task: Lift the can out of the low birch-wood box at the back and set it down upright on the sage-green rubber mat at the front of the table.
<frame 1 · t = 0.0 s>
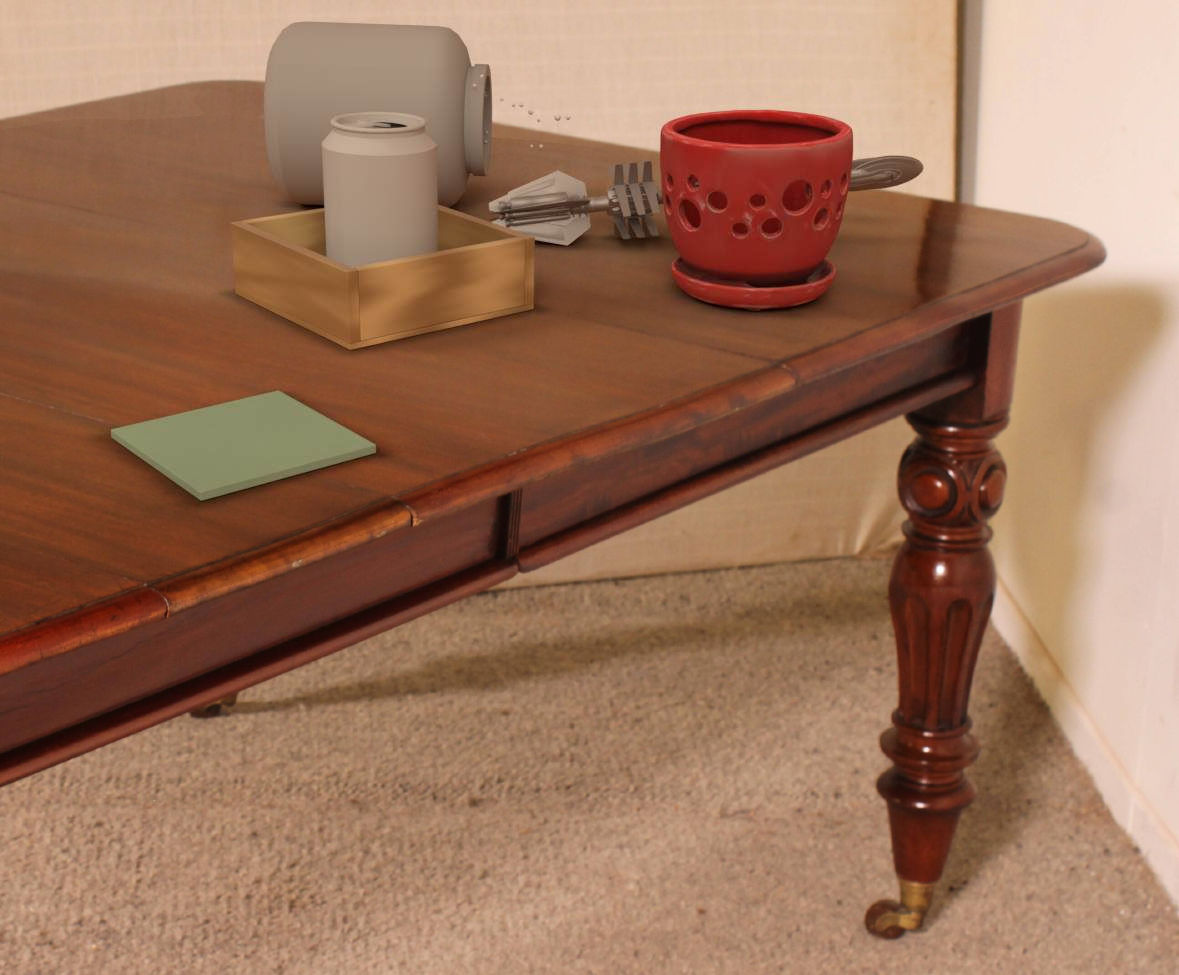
wooden box: (383, 301, 102), on the table
flower pot: (745, 295, 106), on the table
spaceship: (706, 243, 119), on the table
can: (383, 298, 102), resting on wooden box
jar: (427, 204, 128), on the table
mat: (243, 445, 78), on the table
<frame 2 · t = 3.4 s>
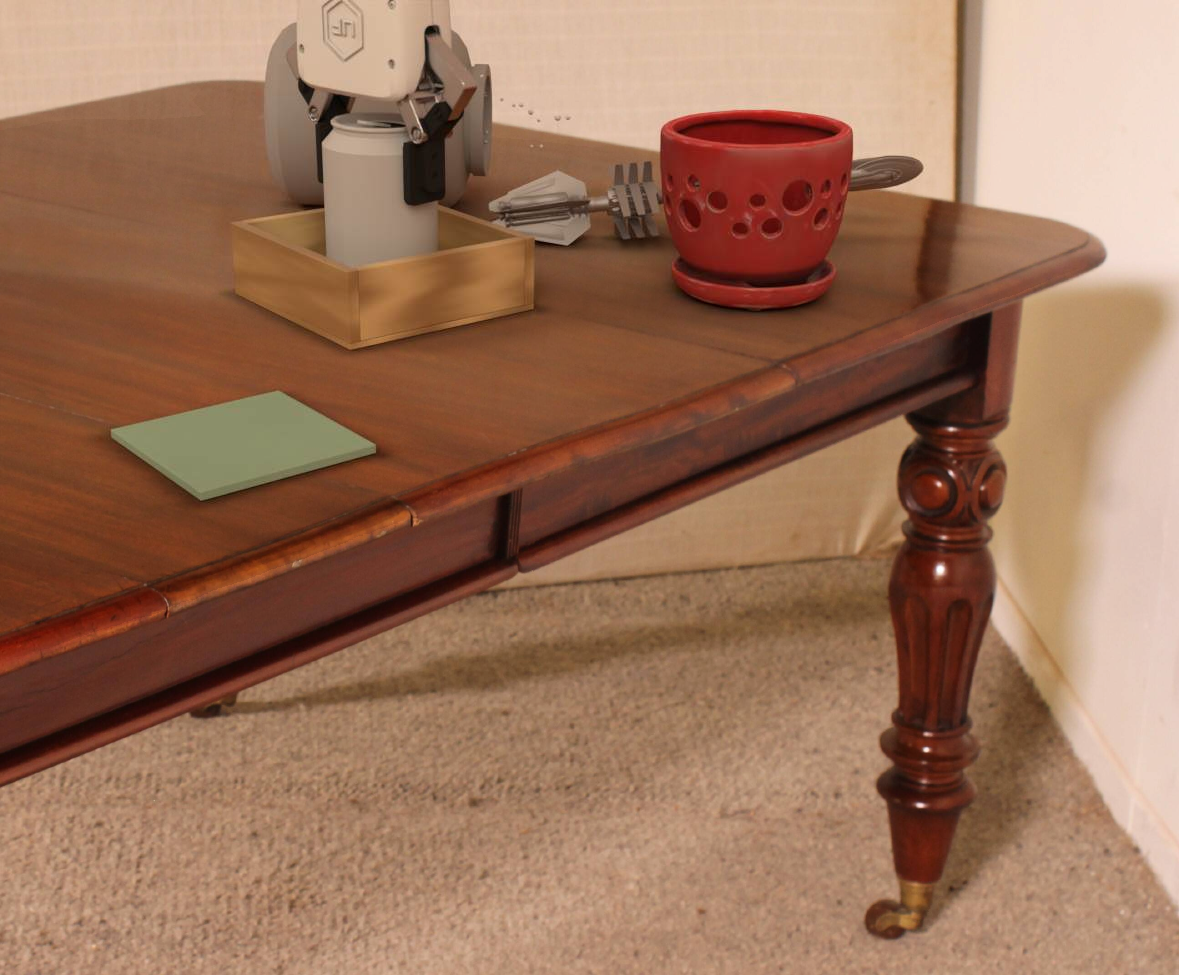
hand: (380, 189, 99), 8 cm above the table, tool pointing down, fingers closed on can, 7 cm apart
can: (383, 298, 102), resting on wooden box, touching gripper
everything else where it was.
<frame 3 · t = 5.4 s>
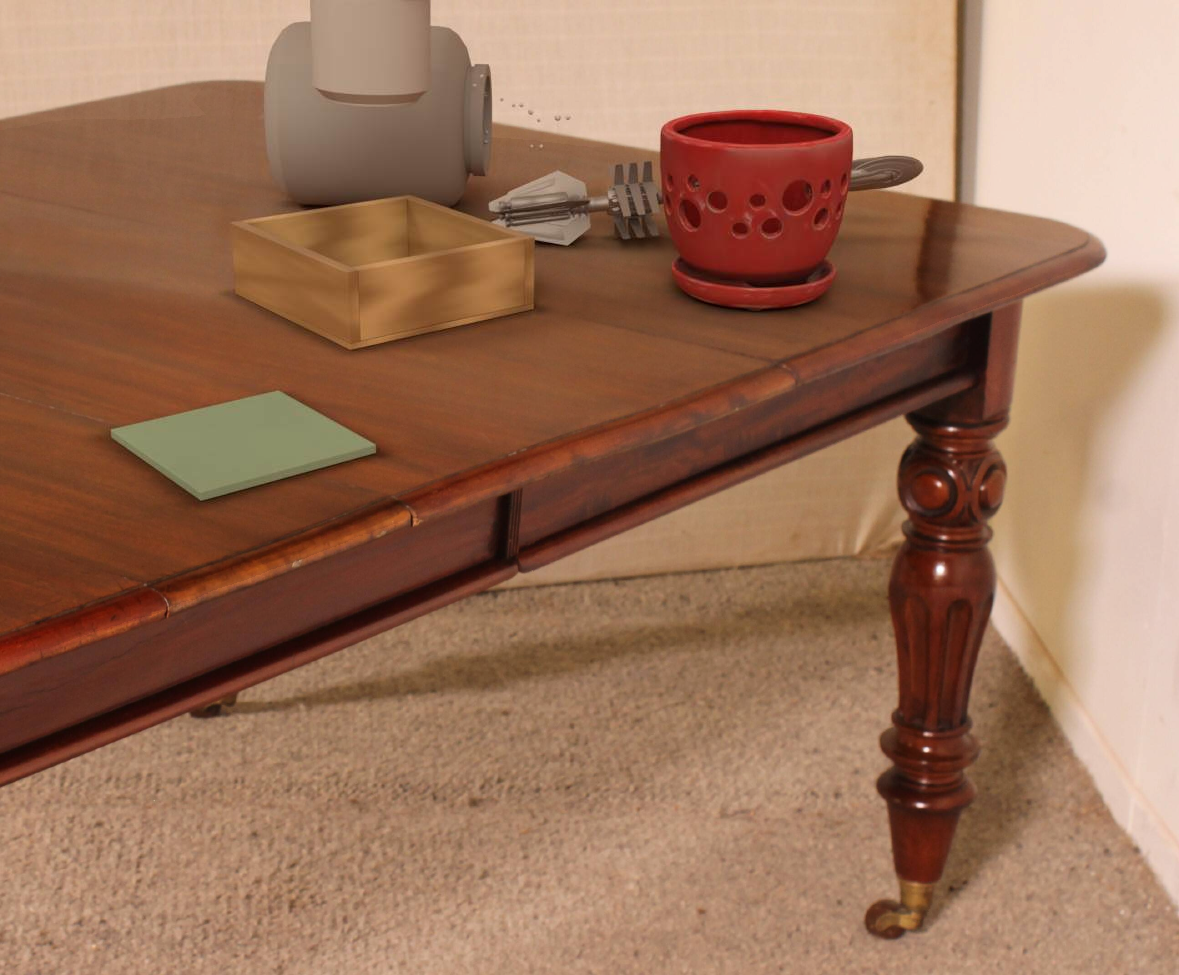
can: (371, 103, 96), point 13 cm above the table, touching gripper
everything else where it was.
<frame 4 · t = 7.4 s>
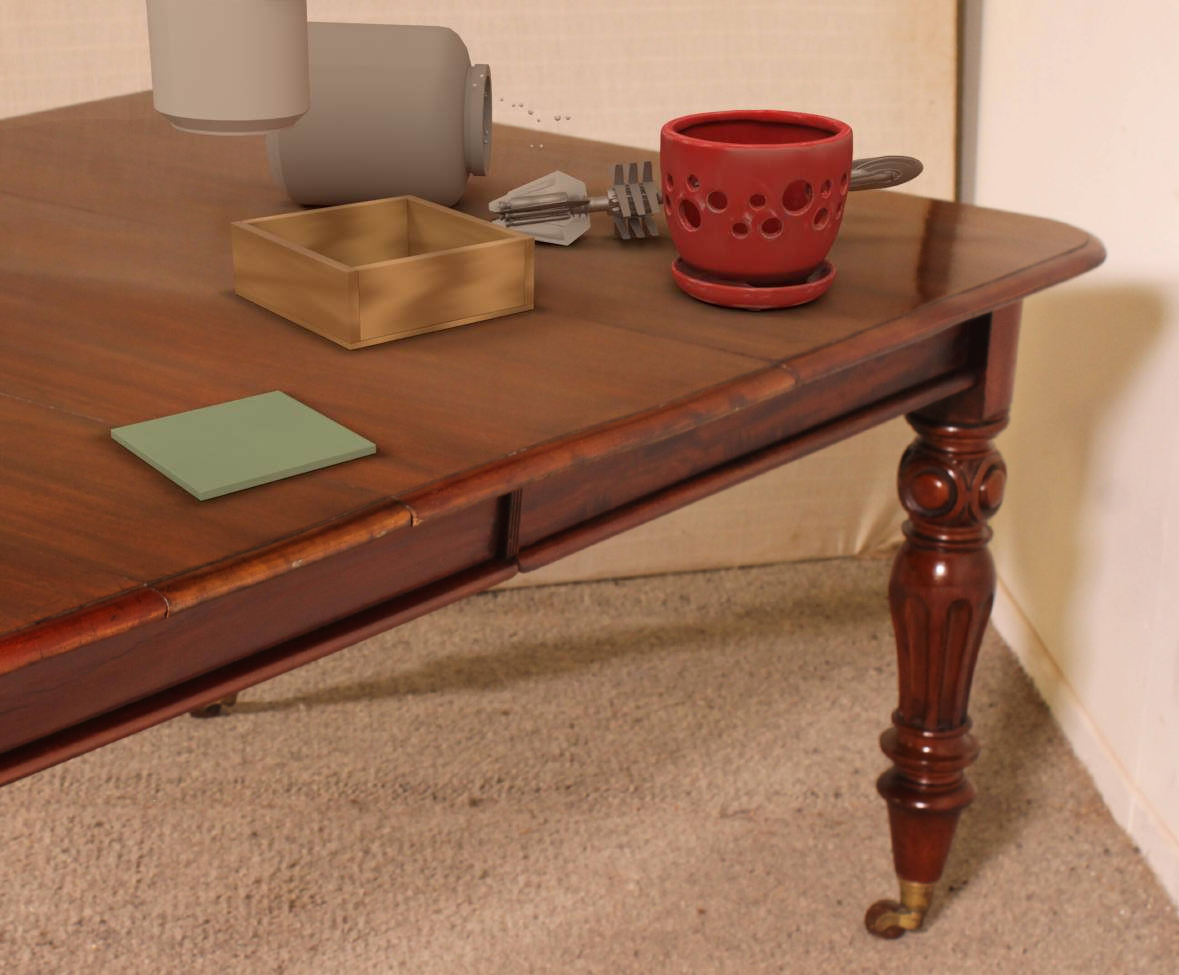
can: (234, 129, 73), point 16 cm above the table, touching gripper
everything else where it was.
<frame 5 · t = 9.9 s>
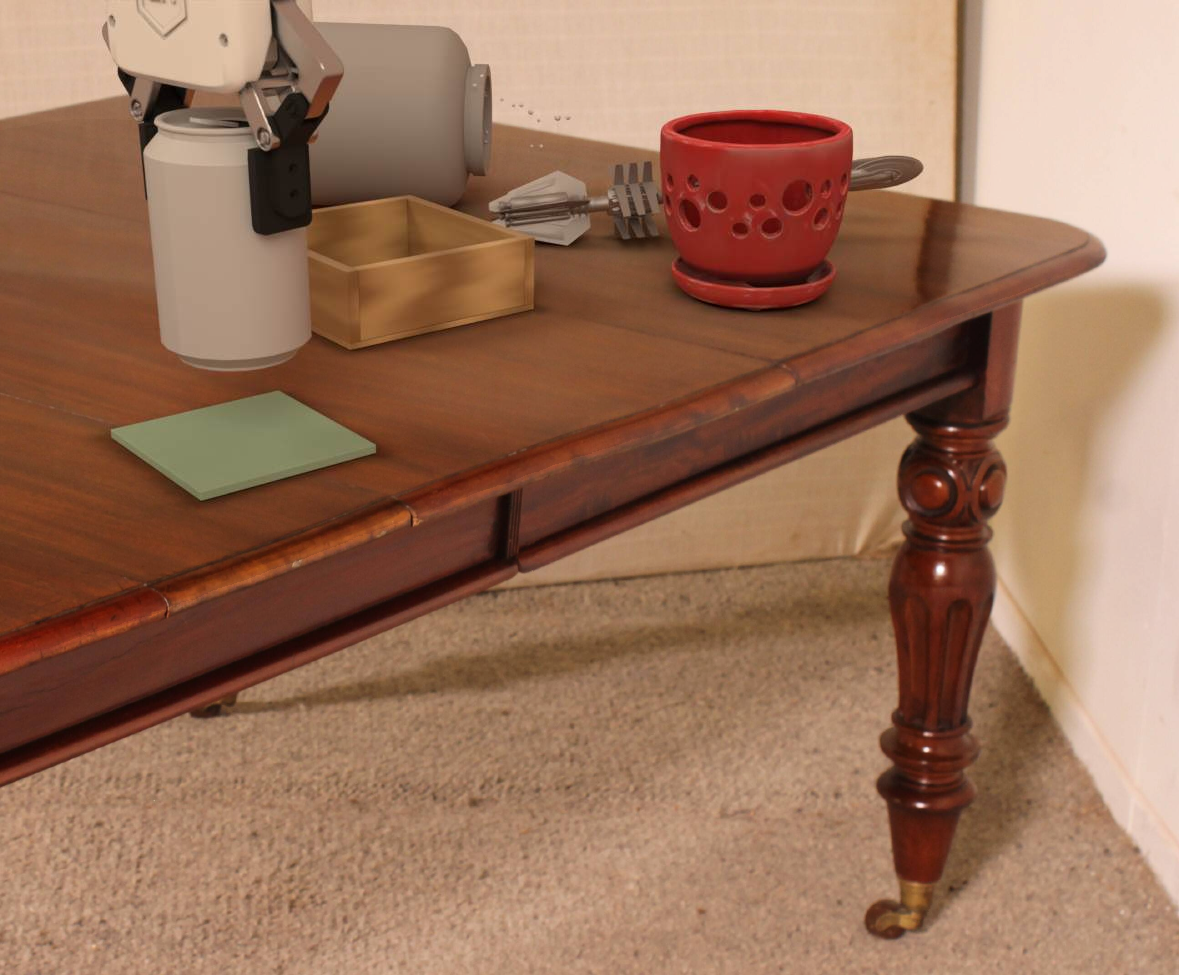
hand: (227, 212, 73), 12 cm above the table, tool pointing down, fingers closed on can, 7 cm apart
can: (238, 355, 76), point 5 cm above the table, touching gripper
everything else where it was.
when the fingers open (8 cm above the table, at t = 11.7 s): can stays where it is, resting on mat.
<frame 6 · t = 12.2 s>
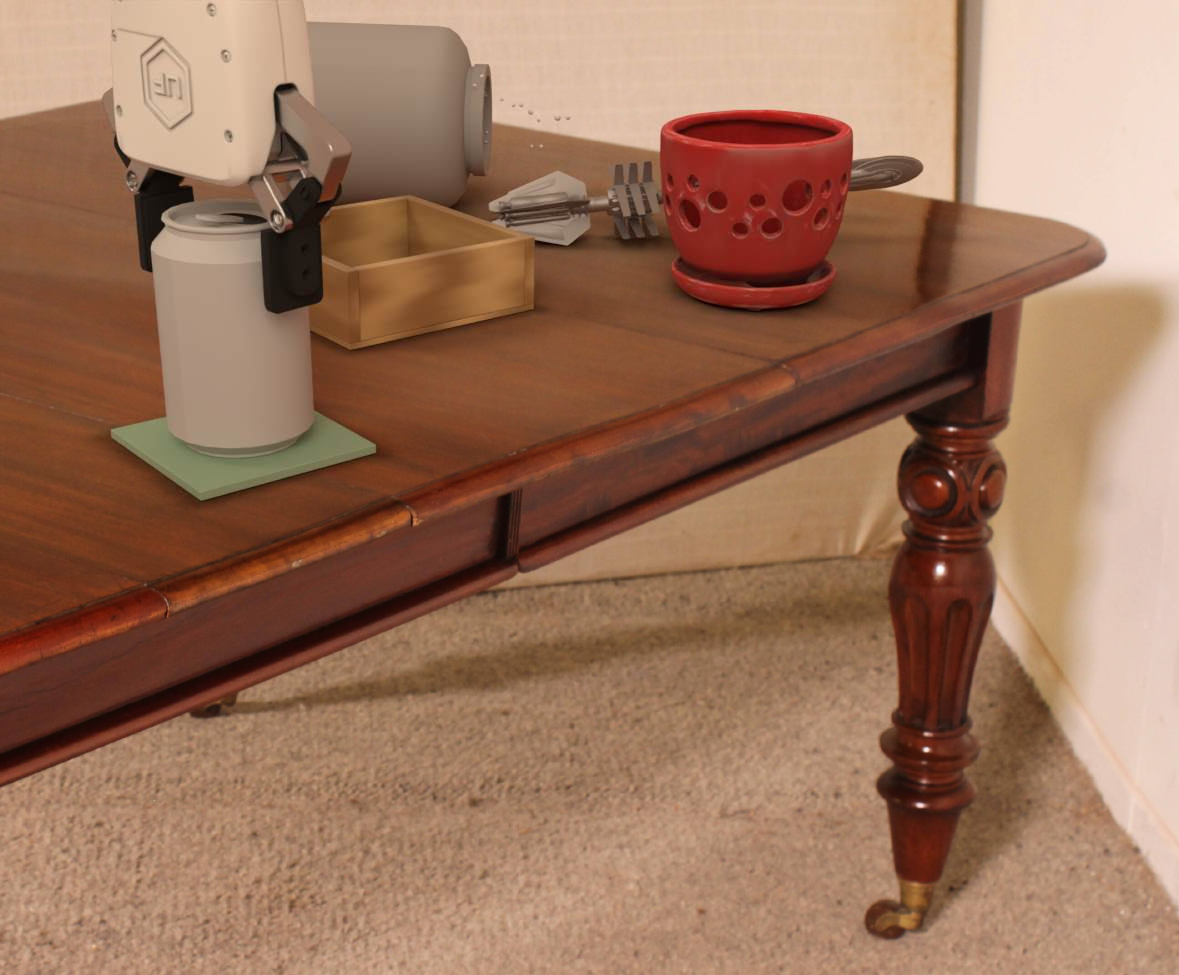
hand: (230, 286, 74), 9 cm above the table, tool pointing down, fingers open, 9 cm apart
can: (243, 439, 78), resting on mat
everything else where it was.
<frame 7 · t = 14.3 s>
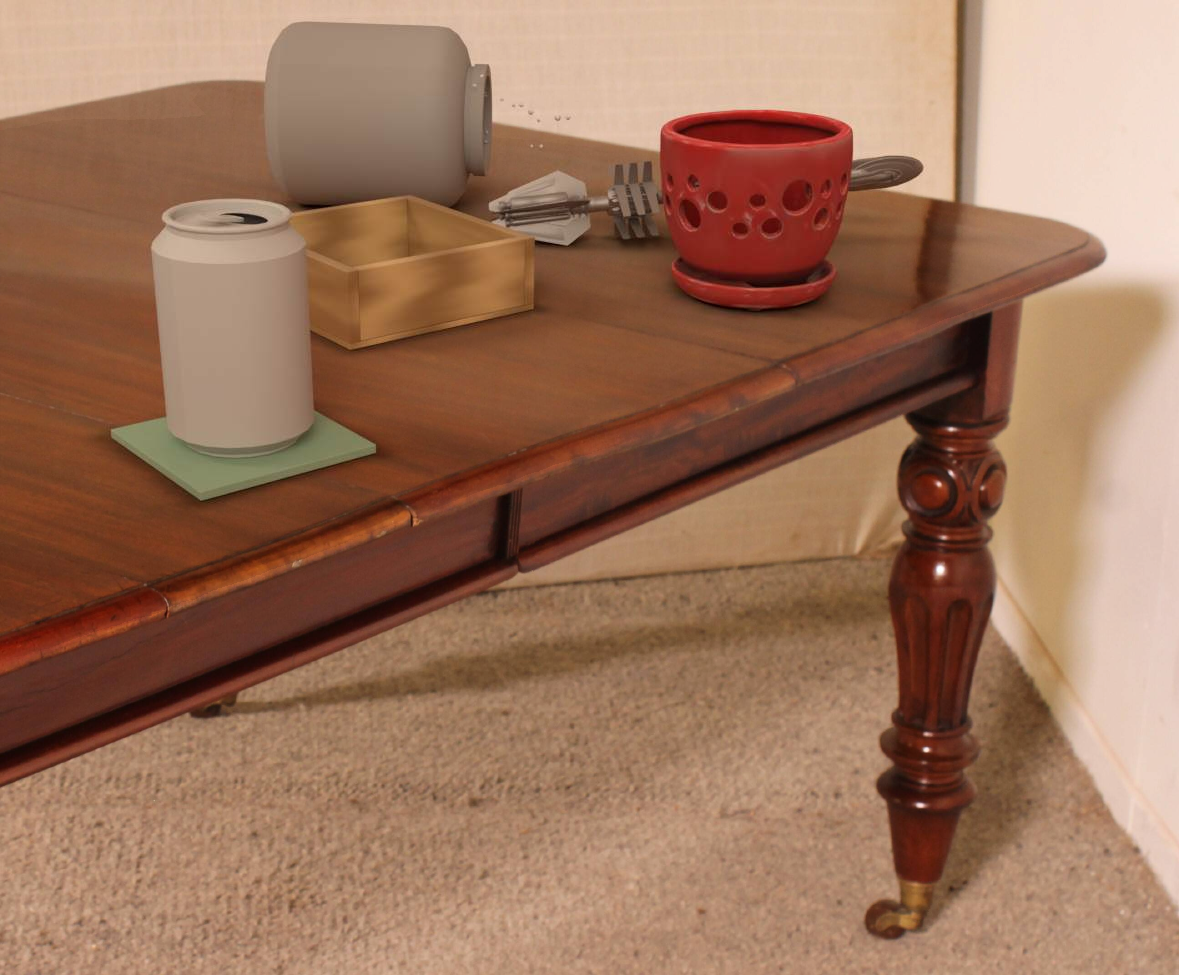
nothing on the table moved.
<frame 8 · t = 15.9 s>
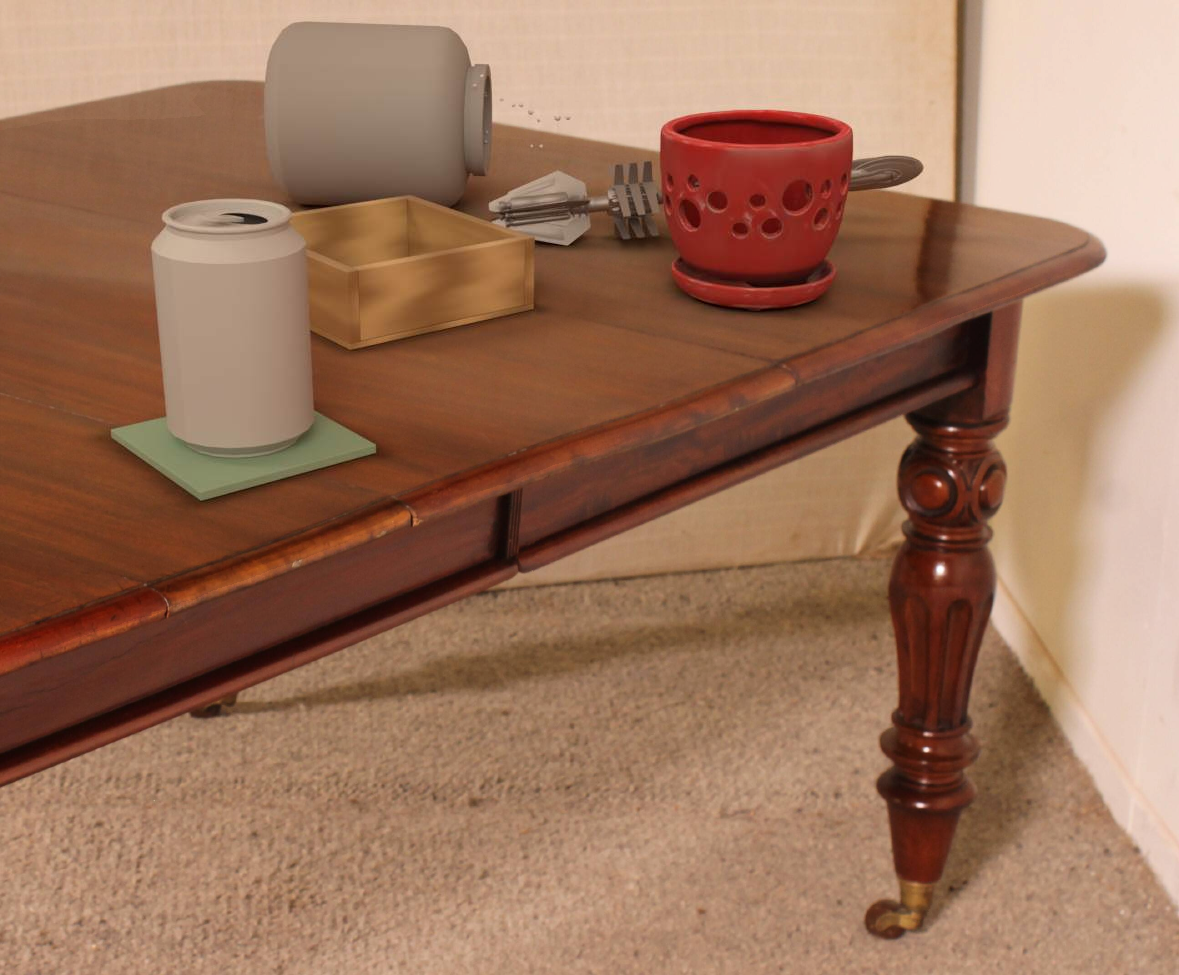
nothing on the table moved.
at the end: can inside the target area on the mat (0.0 cm from its centre), point 0.3 cm above the mat's base; can tilted 0° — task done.
